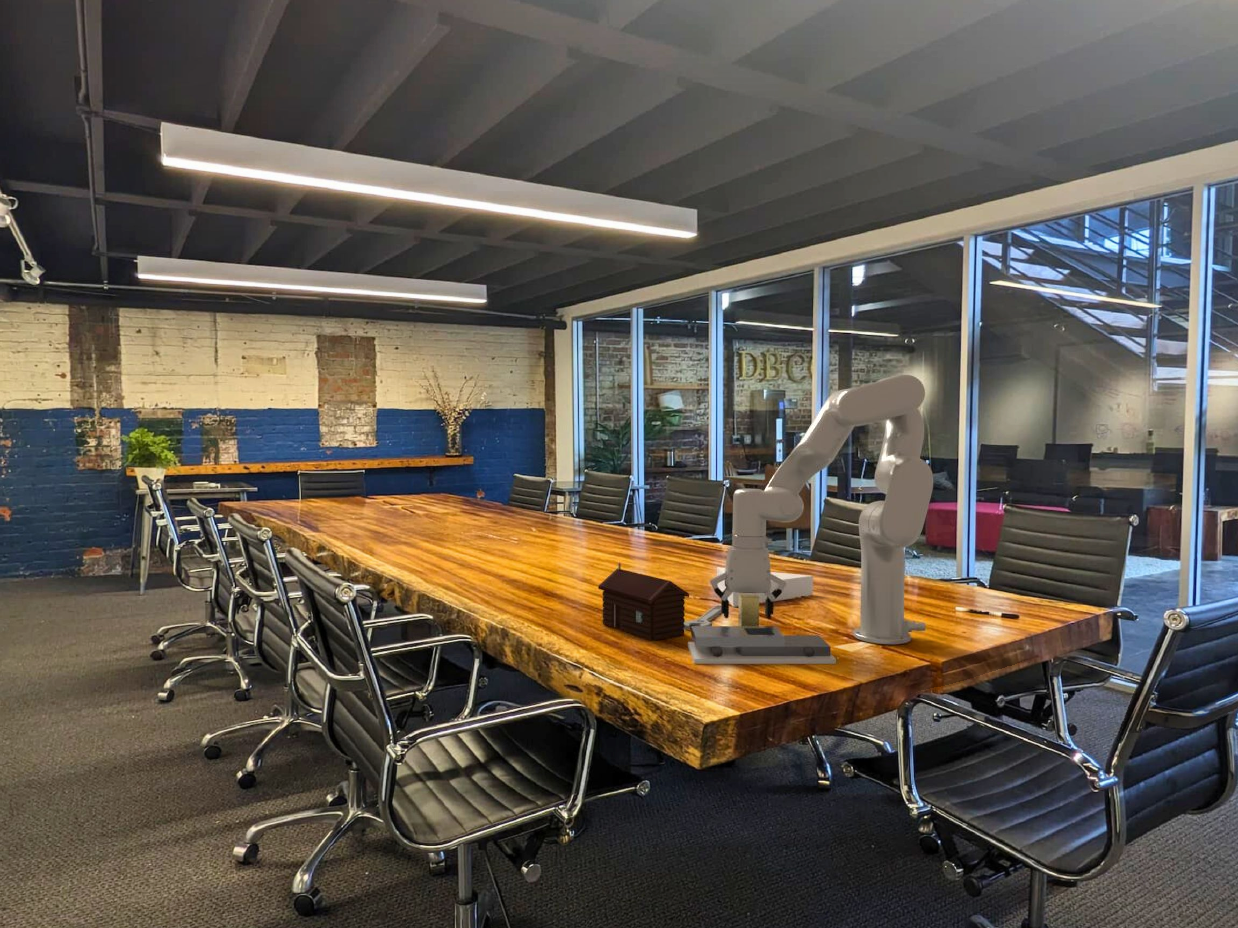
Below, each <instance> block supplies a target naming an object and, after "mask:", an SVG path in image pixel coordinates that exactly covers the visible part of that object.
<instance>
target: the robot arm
mask: <svg viewBox="0 0 1238 928" xmlns="http://www.w3.org/2000/svg"><path fill="white" fill-rule="evenodd" d="M925 398H926V389H925V386H924V384H923V382H922V381H921V380H920V379H919V378H917V377H916V376H913V375H911V374H899V375H894V376H893V375H892V376H888V377H887V376H886V377H884V378H881V379H878V380H877V381H875V382H873V383H869V384H864V385H859V386H856V387H849V388H845V389H839V390H836V391H834V392H833V393H831V394H830V395H829V396H828V397H827V399H826V400H825V401H824V403H823V404H822V406H821V408H820V410H819V412H818V413H817V414H816V416H814V419H813V421H812V422H811V424H810V425H809V426H808V427H809V428H807V430H806V432H805V433H804V435H803V436H802V438H801V439H800V441H799V442H798V443H797V445H796V446H795V447H794V448H793V449H792V451H791V452H790V454H789V455H788V456H787V457H786V459H785V460H784V461H783V462H782V463H781V464H780V466H778V468H777V469H776V471H775V473H774V474H773V476H772V478H771V479H770V480H769V482H768V483H767V486H766V487H765V489H764V490H763V489H761V488H760V489H759V488H738V489H735V491H734V493H733V495H732V497H733V498H732V500H733V501H732V533H731V535H732V537H731V540H732V541H731V542H732V543H731V545H732V546H731V547H728V548H727V552H726V559H725V567H724V568H725V573H723V574H721V575H719V576H717V575H716V576H715V577H713V578H711V579H710V580H709V584H710V585H711V588H712V590H713V592H714V593H715V594H716V595H717V596H718V597H719V598H720V599H721V604H720V606H721V613H720V614H723V617H724V618H725V619H728V618H729V615H730V614H729V613H730V612H729V611H730V609H729V608H730V602H729V601H728V597H729V596H730V595H731V594H732V593H765V595H766V596H767V599H766V600H765V602H764V605H765V606H764V615H765V618H767V619H768V620H771V619H772V615H774V602H776V601H775V599H776V598H777V597H778V596H779V595H780V594H781V593H782V590H783V589H784V587H785V585H786V582H785V581H784V580H782V579H780V578H778V577H776V576H774V575H772V574H771V572H772V571H771V559H770V552H769V549H768V548H767V546H768V545H772V544H773V538H772V537H770V538H769V537H768V536H767V534H766V533H767V532H766V531H767V521H771V522H778V523H783V524H784V523H791V522H795V521H797V519H799V518H800V517H801V516H802V515H803V512H804V508H805V505H804V501H803V498H802V497H801V496H800V495H799V494H800V492H802V489H803V488H804V487H805V485H806V484H807V482H809V481H810V480H811V478H813V476H815V475H816V474H818V473H819V472H821V471H822V470H824V469H825V468H827V467H828V466H829V465H830V464H831V463H832V462H834V459H836V456H837V455H838V453H839V451H840V450H841V448H842V447H843V445H844V443H845V442H846V440H847V439H848V438H849V436H850V435H851V434H852V432H853V430H854V429H855V427H861V426H865V425H869V424H875V423H878V422H881V421H882V422H883V424H884V435H883V440H882V445H881V449H880V452H879V457H878V461H877V464H876V467H875V472H874V479H873V480H874V484H875V487H876V489H878V491H879V492H881V493H882V494H884V495H885V499H884V500H877V501H873V502H870V503H868V504H867V505H866V506H865V507H864V508H863V509H862V511H861V512H860V514H859V519H858V532H859V533H858V534H859V542H860V550H861V551H860V554H861V555H860V556H861V559H860V562H861V563H860V564H861V565H860V566H861V567H860V568H861V569H860V623H859V624H860V627H856V628H854V629H853V633H852V634H853V637H854V638H855V639H858V640H860V641H863V642H867V643H873V644H880V645H901V644H907V643H909V642H910V641H911V640H912V635H911V633H912V631H916V632H925V631H926V623H925V622H916V620H910V621H909V620H907V619H906V618H905V574H906V573H905V572H906V559H905V550H904V549H905V548H908V547H910V546H912V545H914V543H915V542H916V541H918V539H919V538H920V535H921V533H922V531H923V528H924V524H925V521H926V517H927V514H928V510H929V507H930V506H929V505H930V501H931V497H932V495H933V494H932V493H933V489H934V475H933V471H932V469H931V467H930V465H929V464H928V463H927V462H926V461H925V460H924V459H922V458H921V453H922V448H923V443H924V439H925V423H924V420H923V417H922V414H921V412H920V407H921V406H922V404H923V403H924V400H925ZM723 580H725V587H726V588H725V589H724V591H723V592H722V591H721V590H720V589H719V587H718V585H717V584H718V583H719V582H721V581H723ZM771 580H772V581H774V582H775V583H777V584H778V586H777V588H776V589H775V590H774V591H773V592H772V593H771V592H770V589H771Z"/></svg>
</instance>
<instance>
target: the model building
mask: <svg viewBox="0 0 1238 928" xmlns="http://www.w3.org/2000/svg"><path fill="white" fill-rule="evenodd" d="M617 563H618V565H617V566H618V567H617V568H616V569H615V570H614V571H612V573H610V574H609V576H607V577H606V578H605V579H604V580H603V581H602V582H601V583H600V584H598V585H597V587H598V590H601V591H602V610H601V611H602V616H601V618H603V619H602V622H601V623H602V624H603V625H606V626H608V627H612V628H616V629H618V630H620V631H622V632H624V633H627V634H630V635H632V636H633V635H634V636H637V637H639V638H643V639H645V640H648V641H650V642H651V641H658V640H665V639H669V638H673V637H675V638H676V637H680V636H684V635H685V632H686V630H684V628H685V625H684V622H685V616H686V614H685V610H686V609H685V604H686V602H685V601H686V600H685V597H687V598H690V593H689V592H687V591H686V590H684V589H683V588H682V587H680V586H678V585H677V584H676V583H674V582H673V581H671V580H668V579H663V578H659V577H656V576H655V577H654V576H651V575H646V574H642V573H637V572H634V571H631V570H630V571H629V570H625V569H621V562H617Z"/></svg>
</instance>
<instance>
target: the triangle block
mask: <svg viewBox="0 0 1238 928" xmlns="http://www.w3.org/2000/svg"><path fill="white" fill-rule="evenodd" d="M723 573H725V567H719V566H716V577H717V576H719V575H721V574H723ZM771 574H772V575H774V576H776V577H778V578H780V579H782V580H784V581H785V582H786V585H785V587H784V589H783V590H782V593H781V594H780V595H779V596H778V597H777V598H776V599H775V601H774V602H776V601H777V602H778V601H783V600H790V599H796V598H795V597H798V598H802V597H801V596H805V597H809V596H808V595H812V596H814V575H808V574H798V573H797V574H795V573H789V572H787V573H785V572H777V571H776V572H774V571H771ZM717 585H718V587H719V588H720V590H721V591H722V592H723V591H724V589H725V588H726V587H725V580H723V581H721V582H719V583H718V584H717ZM777 586H778V584H777V583H775V582H774V581H772V580H771V589H770V592H771V593H772V592H773V591H774V590H775V589H776V588H777ZM739 594H756V595H757V596H758V597H759V604H763V602H764V603H765V600H766V599H767V596H766V595H765V593H732V594H731V595H730V596H729V597H728V601H729V604H730V605H731V607H732V608H734V607H739Z"/></svg>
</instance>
